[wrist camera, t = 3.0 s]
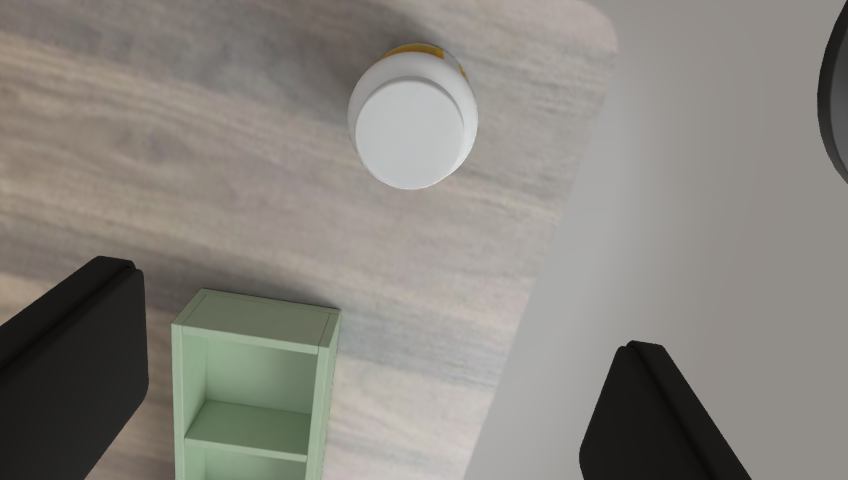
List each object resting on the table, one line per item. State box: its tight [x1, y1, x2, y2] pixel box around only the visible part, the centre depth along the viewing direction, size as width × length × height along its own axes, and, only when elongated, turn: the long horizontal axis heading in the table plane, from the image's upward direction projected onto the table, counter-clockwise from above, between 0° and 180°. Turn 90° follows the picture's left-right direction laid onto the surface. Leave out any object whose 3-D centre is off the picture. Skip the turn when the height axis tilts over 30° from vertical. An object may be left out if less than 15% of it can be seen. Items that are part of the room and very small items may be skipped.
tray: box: [171, 288, 341, 480], centre depth 36 cm, size 9×25×4 cm, turn 171°
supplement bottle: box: [347, 43, 478, 190], centre depth 24 cm, size 5×5×10 cm
